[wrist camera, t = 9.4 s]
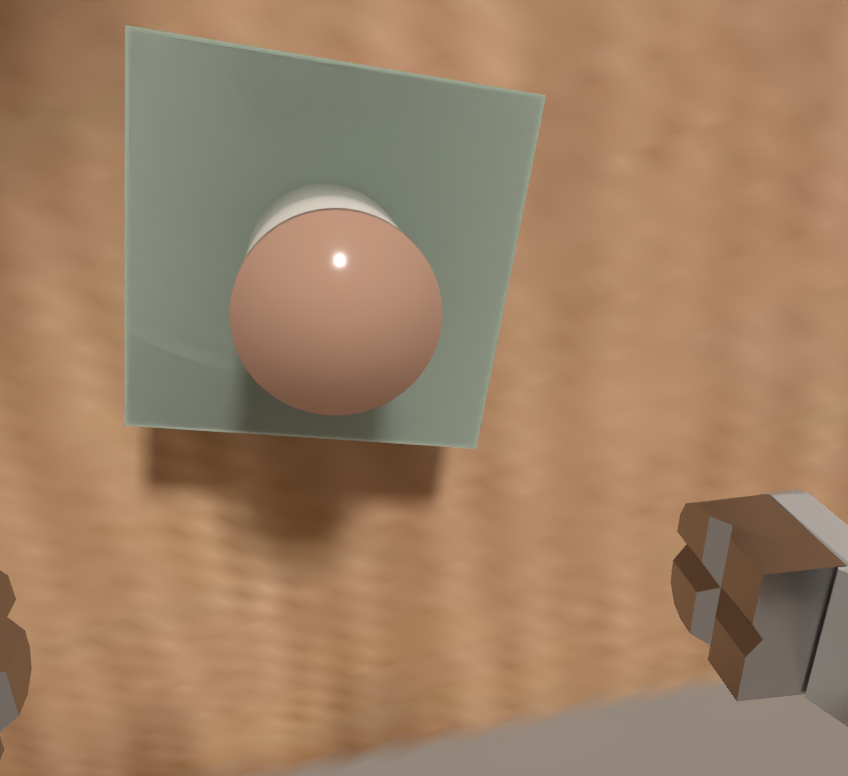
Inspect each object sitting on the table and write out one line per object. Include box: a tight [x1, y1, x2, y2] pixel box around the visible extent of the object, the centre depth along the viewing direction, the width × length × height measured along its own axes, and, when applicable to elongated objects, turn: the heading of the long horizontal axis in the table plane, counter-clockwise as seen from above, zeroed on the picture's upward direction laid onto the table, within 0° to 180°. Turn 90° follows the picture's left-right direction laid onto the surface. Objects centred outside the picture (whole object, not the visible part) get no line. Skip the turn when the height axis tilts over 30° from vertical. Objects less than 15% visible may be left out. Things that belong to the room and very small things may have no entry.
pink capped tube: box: [230, 183, 442, 415], centre depth 21 cm, size 5×5×6 cm
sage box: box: [125, 25, 546, 449], centre depth 26 cm, size 12×12×5 cm
